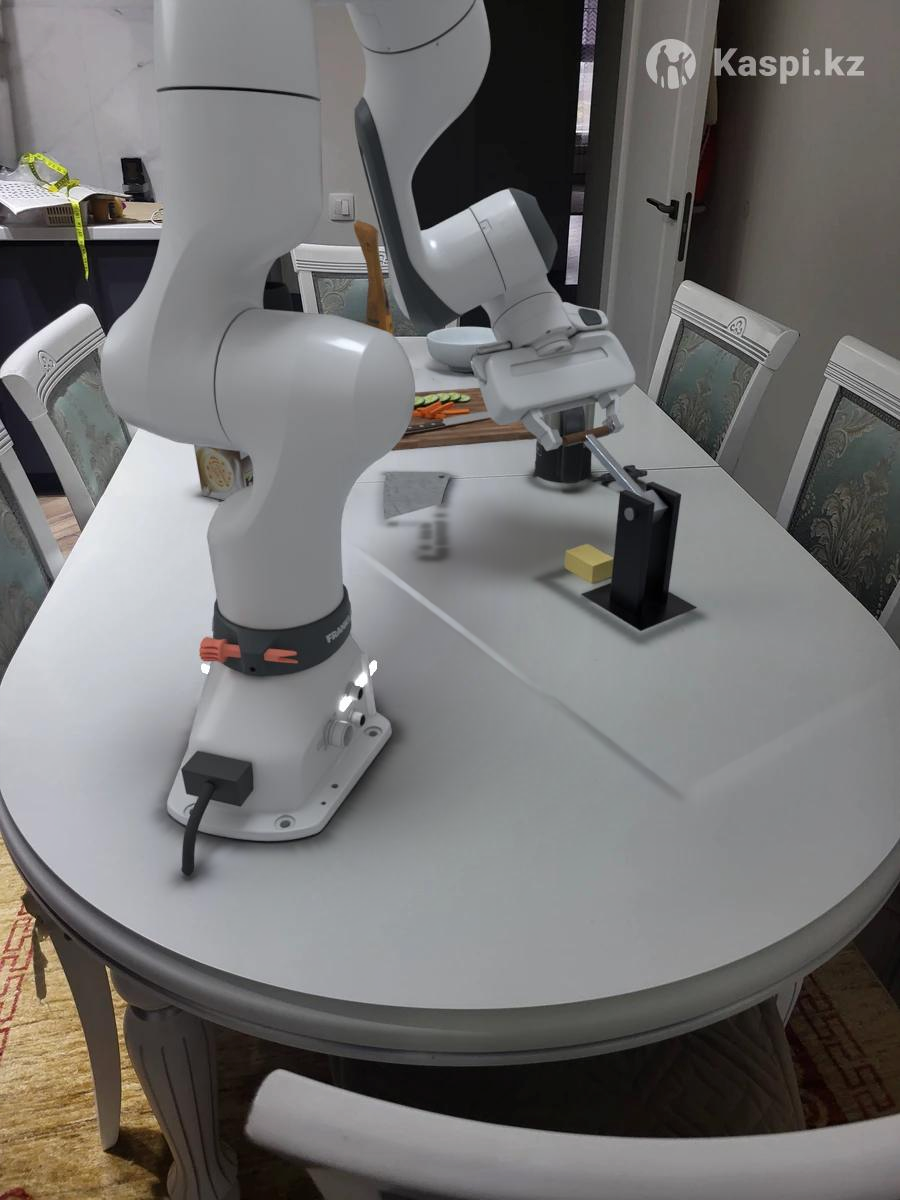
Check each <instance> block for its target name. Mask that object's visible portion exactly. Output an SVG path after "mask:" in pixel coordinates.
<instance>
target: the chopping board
mask: <svg viewBox="0 0 900 1200" xmlns="http://www.w3.org/2000/svg"><path fill="white" fill-rule="evenodd" d="M528 439H537V437H536V436H535V435H534V434H532V433H531V432H530V431H528V430H527V429H526V428H525V426H524V424H523V422H522V421H517V422H513V423H509V424H505V425H499V424H497V423H496V422H495V421H493V420H492V419H491V418H490V415H489V413H488V411H487V408H486V405H485V403H484V400H483V397H482V393H481V390H480V387H473V388H472V387H470V388H456V389H444V390H443V389H442V390H441V389H440V390H430V391H429V390H428V391H415V403H414V409H413V414H412V417H411V420H410V423H409V425H408V427H407V429H406V431H405V433H404V435H403V436H402V438H401V439H400V441H399V442H398V443H397V444H396V445H395V447H394V448H393V449H392V450H391V451H398V450H411V449H420V448H432V447H433V448H434V447H444V446H445V447H447V446H455V445H457V446H458V445H470V444H480V443H492V442H505V441H517V440H528Z"/></svg>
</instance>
